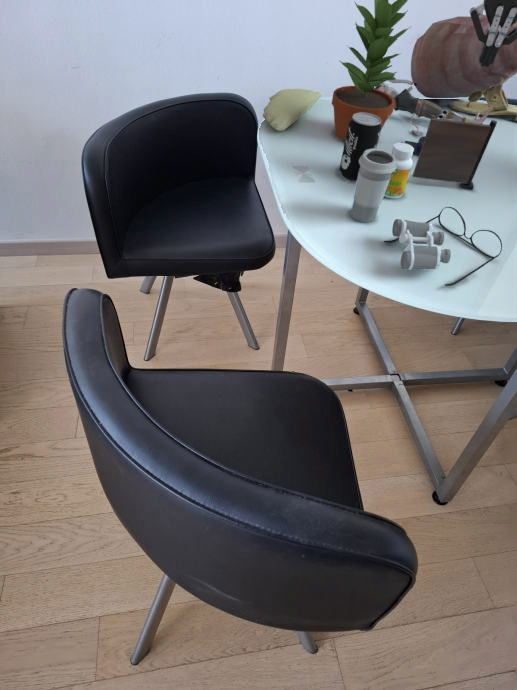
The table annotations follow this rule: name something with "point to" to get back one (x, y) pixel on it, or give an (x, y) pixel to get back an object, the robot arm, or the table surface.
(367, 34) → the potted plant
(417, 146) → the doorbell
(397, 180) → the supplement bottle
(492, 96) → the sandal
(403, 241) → the binoculars
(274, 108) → the dumpling
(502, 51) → the sculpture
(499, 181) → the table surface
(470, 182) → the upright peg on plate
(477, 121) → the toy
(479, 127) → the door
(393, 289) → the table surface
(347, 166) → the beverage can
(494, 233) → the glasses
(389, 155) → the cup
